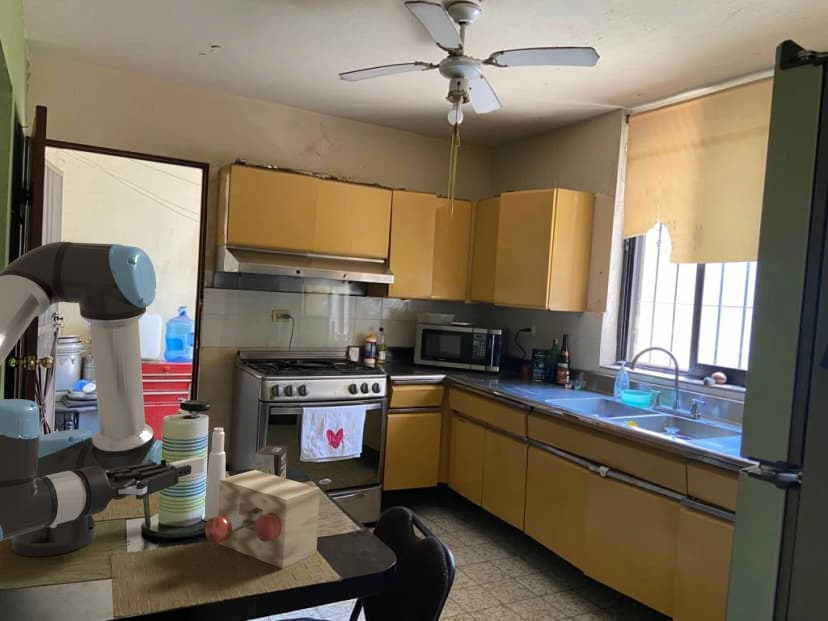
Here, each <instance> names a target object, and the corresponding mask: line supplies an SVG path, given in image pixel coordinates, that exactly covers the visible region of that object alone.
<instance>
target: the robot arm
mask: <svg viewBox="0 0 828 621" xmlns="http://www.w3.org/2000/svg"><path fill="white" fill-rule="evenodd" d="M156 289H157V278H156V271H155V268H154V264H153V262H152V260H151V258H150V256H149V255H148V254H147V252H145V251H144V250H143V249H142V248H140V247H137V246H130V245H122V244H121V243H118V244H116V243H95V242H93V243H92V242H73V241H56V242H49V243H46V244H43V245H39V246H38V247H36V248H33V249H31V250H29V251H28V252H26V253H24V254H22V255H21V256H19V257H18V258H16V259H14V260H13V261H12V262H10V264H8V265H6V266H5V268H4V269H3V270H1V271H0V367H1V366H2V364H4V361H5V360H6V358H7V357H8V356H9V354H10V353H11V351H12V350H13V349H14V347H15V346H16V344H17V343H18V341H19V340H20V338H21V337H22V335H23V334H24V333H25V331H26V330H27V329H28V327H29V326H30V324H31V323H32V321H33V320H34V319H35V317H38V316H39V317H40V316H42V315H44V314H45V313H46V312H47V311H48V310H49V308H50V306H52V305H53V304H57V303H70V304H78V308H79V315H80V317H81V318H83V319H84V321H86V322H87V323H89V326H90V337H91V348H92V360H93V371H94V382H95V393H96V394H95V395H96V404H97V414H98V426H99V430H98V431H97V432H95V434H94V435H93V433H92V431H91V430H90V429H85V428H81V429H78V428H76V429H68V430H67V429H66V430H61V431H55V432H54V431H53V432H51V433H46V434H42V435H41V432H42V430H41V428H40V408H39V405H38V404H37V403H36V402H35V401H33V400H30V399H25V398H24V399H21V398H9V399H5V398H4V399H3V398H2V399H0V542H2V541H4V540H6V539H10V538H12V539H11V549H12V551H13V552H14V553H15V554H18V555H21V556H27V557H28V556H29V557H48V556H56V555H57V556H58V555H63V554H66V553H70V552H73V551H76V550H77V551H78V550H79V549H81V548H84V547H86V546H88V545H89V544H91V543H93V541H94V540H95V538H96V523H95V520H94V517H93V516H94V515H97V514H100V513H102V512H103V511H105V509H106V508H107V506H108V505H109V503H110V502H111V501H112V500H114V501H118V500H123V499H125V498H126V497H132V496H133V497H134V496H135V500H143V499H145V498H147V496H150V495H152V494H154V493H155V494H156V493H158V492H160V491H162V490H165V489H168V488H171V487H173V486H175V485H178V484H179V479H183V478H186V477H189V476H194V475H197V474H202V473H204V462H205V461H204V459H205V458H204V457H202V456H195V457H190V458H186V459H185V458H184V459H181V460H178V461H177V460H176V461H173V462H168V461H167V459H165V458H164V459H162V457H161V456H162V444H163V443H164V441H163V440H160V439H154V438H155V437H154V429H153V428H152V427H151V426H150V425H148V424H147V423H146V417H145V416H146V415H145V414H146V413H145V404H144V403H145V402H144V388H143V387H144V386H143V385H144V384H143V371H142V356H141V355H142V354H141V341H140V338H141V337H140V324H139V322H140V321H139V320H140V319H141V318H142V317H143V316H145V314H146V312H147V307H150V306H151V305H152V303H154V300H155V298H156V293H157V292H156ZM161 459H162V460H161ZM167 462H168V463H167Z"/></svg>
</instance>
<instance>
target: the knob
mask: <svg viewBox="0 0 828 621" xmlns="http://www.w3.org/2000/svg"><path fill="white" fill-rule="evenodd" d="M260 516H263V509H260V508H254V509H251V510H249V511H246V512H243V513H240V514H237V515H234V516H231V517H227V516H226V515H219V516H216V517H213V518H210V519H208V520H207V522H205V525H204V532H205V536H206V538H207V540H208V541H209V543H211V544H212V545H217V544H218V543H220V542H223V541H225V540H228V539H229V538H230V537H231V534H232V532H234V531H237V530H240V529H242V528H245V527H248V526H250V525H253V524H255V522H256V520H257V518H258V517H260Z"/></svg>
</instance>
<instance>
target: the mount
mask: <svg viewBox="0 0 828 621" xmlns="http://www.w3.org/2000/svg"><path fill="white" fill-rule="evenodd" d="M320 489H321V488H320V487H318V486H314V485H310V484H306V483H304V482H299V481H295V480H292V479H289V478H282V477H278V476H275V475H271V474H268V473H264V472H261V471H257V470H254V469H253V470H249V471H246V472H245V471H244V472H243V473H238V474H235V475H231V476H228V477H227V476H226V477H225V478H223V479H220V491H219V510H218V516H219V515H226V516H227V517H231V516H234V515H237V514H240V513H243V512H246V511H249V510H251V509H254V508H260V509H263V516H260V517H258V518H257V520H256V522H255V524H253V525H250V526H248V527H245V528H242V529H240V530H237V531H234V532H232V534H231V537H230V538H229V539H228V540H225V541H223V542H220V543H219V545H221V546H224V547H226V546H227V547H226V548H229V549H232V550H234V551H236V552H239V553H242V554H244V555H247V556H249V557H251V556H252V558H254V559H257V560H259V561H262V562H265V563H267V564H268V565H269V564H270V565H272V566H274V567H277V568H279V569H282V570H283V569H286V568H288V567H290V566H292V565H294V564H296V563H298V562H301V561H302V560H304V559H306V558H308V557H310V556H313V555H314V554H316V553H317V551H318V550H317V547H318V532H319V528H318V527H319V514H320V512H319V508H320V493H321V492H320Z"/></svg>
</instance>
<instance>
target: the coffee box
mask: <svg viewBox="0 0 828 621" xmlns="http://www.w3.org/2000/svg"><path fill="white" fill-rule="evenodd" d="M287 455H288V446H283V445H263V446H262V447H261V448H260V449H258V450H257V451H256V452H255V453H254V461H253V470H257V471H261V472H264V473H268V474H271V475H275V476H278V477H282V478H286V475H287V457H288V456H287ZM286 479H287V478H286Z"/></svg>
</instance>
